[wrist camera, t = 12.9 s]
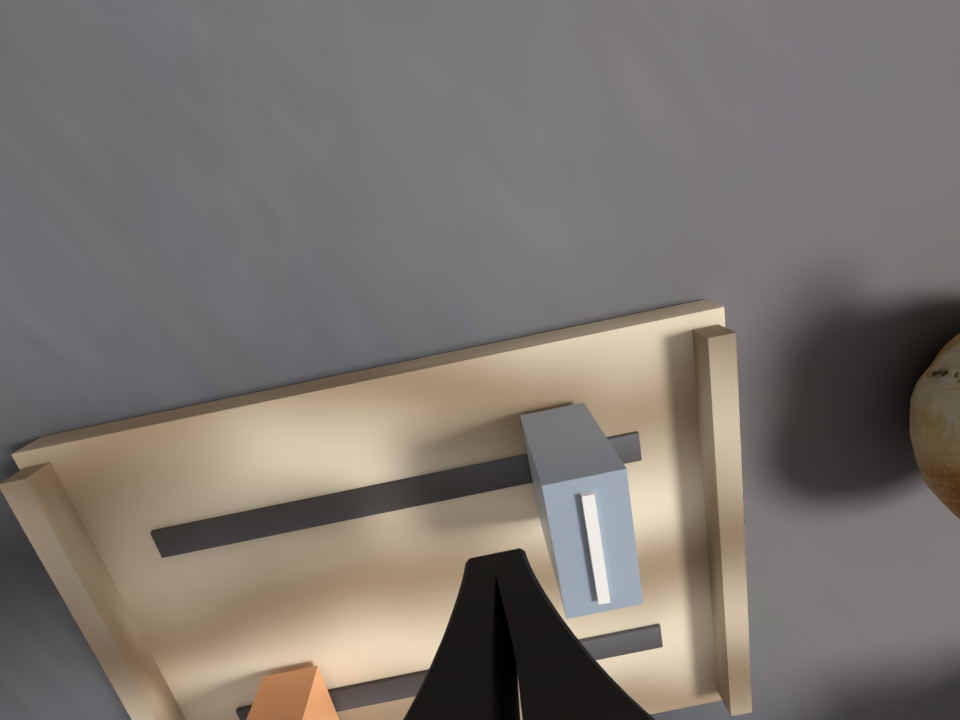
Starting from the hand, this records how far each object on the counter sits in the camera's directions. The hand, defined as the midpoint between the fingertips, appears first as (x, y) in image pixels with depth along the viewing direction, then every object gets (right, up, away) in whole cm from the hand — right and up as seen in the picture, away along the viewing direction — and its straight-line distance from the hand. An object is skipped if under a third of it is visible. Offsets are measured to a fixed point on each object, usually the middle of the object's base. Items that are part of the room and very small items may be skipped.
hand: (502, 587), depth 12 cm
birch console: (-3, -2, +7) cm, 8 cm away
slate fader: (+2, +2, +4) cm, 5 cm away
